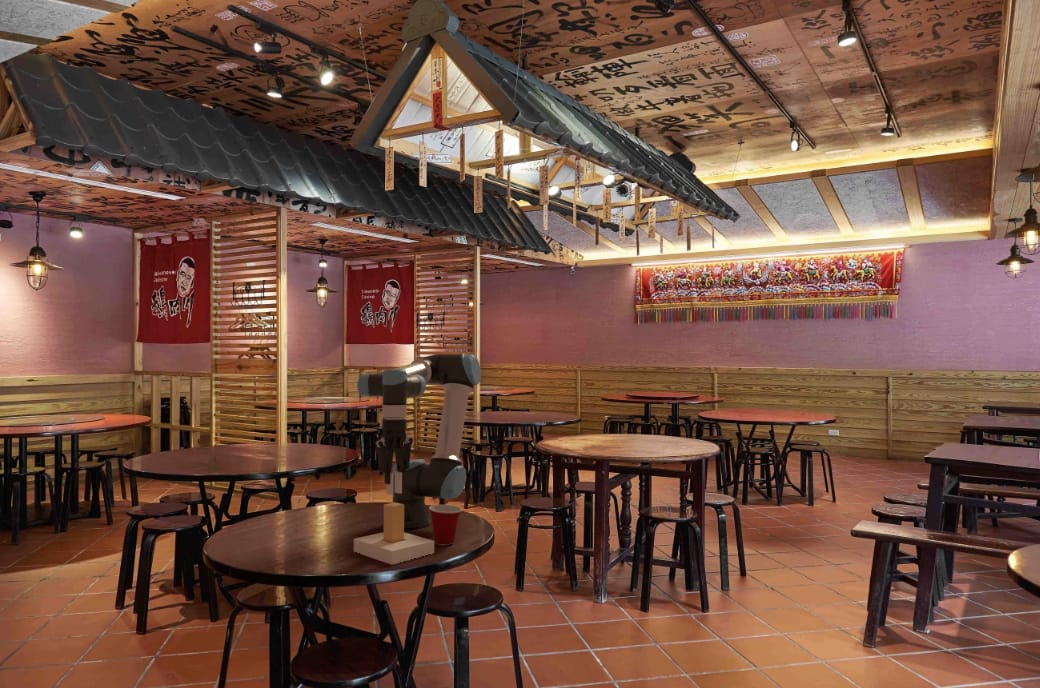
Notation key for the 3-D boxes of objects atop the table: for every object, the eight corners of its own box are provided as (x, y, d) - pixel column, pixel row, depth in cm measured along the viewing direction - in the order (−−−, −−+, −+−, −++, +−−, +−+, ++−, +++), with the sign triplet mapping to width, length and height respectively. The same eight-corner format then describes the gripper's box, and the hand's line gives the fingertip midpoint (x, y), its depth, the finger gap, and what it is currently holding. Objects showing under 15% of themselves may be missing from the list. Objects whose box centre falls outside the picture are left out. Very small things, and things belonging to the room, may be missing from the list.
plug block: (395, 549, 225) (395, 502, 225) (403, 552, 222) (404, 504, 222) (383, 552, 222) (383, 504, 222) (392, 555, 218) (392, 506, 219)
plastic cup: (461, 548, 227) (462, 510, 227) (427, 548, 227) (428, 510, 227) (462, 539, 238) (462, 503, 238) (429, 539, 237) (430, 503, 238)
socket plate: (395, 541, 234) (395, 529, 234) (434, 553, 221) (434, 540, 221) (353, 551, 223) (353, 538, 223) (392, 564, 209) (392, 551, 209)
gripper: (407, 415, 230) (406, 488, 230) (366, 419, 219) (366, 495, 219) (421, 417, 225) (421, 491, 225) (380, 420, 214) (380, 498, 214)
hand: (394, 493), depth 222 cm, fingers open, 3 cm apart
